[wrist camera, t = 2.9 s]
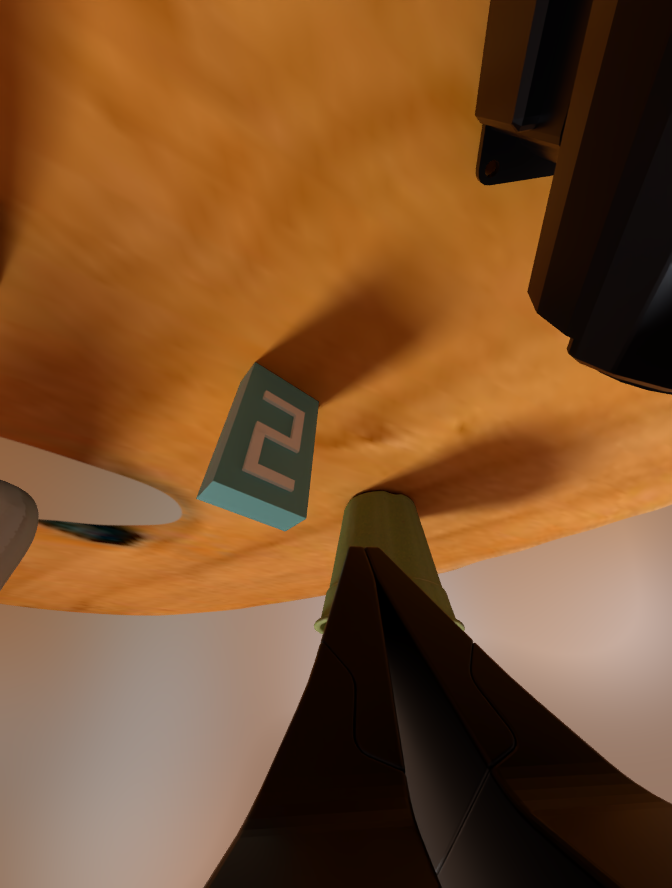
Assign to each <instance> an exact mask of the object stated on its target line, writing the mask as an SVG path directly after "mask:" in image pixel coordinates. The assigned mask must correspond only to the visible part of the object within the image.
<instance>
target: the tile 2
mask: <svg viewBox="0 0 672 888" xmlns="http://www.w3.org/2000/svg"><path fill="white" fill-rule="evenodd" d="M318 405H319V402H318V401H317V400H315V399H314V398H312V397H310V396H309V395H307V394H306V393H304V392H302V391H301V390H299V389H298V388H296V387H294V386H293V385H291V384H290V383H288V382H286V381H285V380H283V379H282V378H280V377H278V376H277V375H275V374H274V373H272V372H270V371H269V370H267V369H266V368H264V367H262V366H261V365H259V364H258V363H256V362H255V363H254V364H253V366H252V367H251V368H250V370H249V371H248V373H247V374H246V375H245V377H244V378H243V379H242V381H241V382H240V385H239V388H238V390H237V393H236V396H235V398H234V401H233V403H232V406H231V409H230V411H229V414H228V417H227V419H226V422H225V424H224V427H223V430H222V432H221V435H220V438H219V440H218V443H217V445H216V448H215V451H214V453H213V456H212V459H211V461H210V464H209V466H208V469H207V472H206V474H205V477H204V480H203V482H202V485H201V487H200V490H199V493H198V495H197V498H196V499H199V500H201V501H204V502H207V503H209V504H212V505H215V506H218V507H220V508H223V509H226V510H229V511H231V512H234V513H237V514H239V515H242V516H245V517H248V518H250V519H253V520H256V521H259V522H261V523H264V524H267V525H269V526H272V527H275V528H278V529H280V530H283V531H287V530H288V529H290V528H292V527H293V526H295V525H296V524H298V523H300V522H301V521H303V520H305V519H306V516H307V507H308V498H309V489H310V479H311V470H312V461H313V452H314V442H315V433H316V424H317V415H318Z"/></svg>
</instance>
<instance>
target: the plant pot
mask: <svg viewBox="0 0 672 888" xmlns="http://www.w3.org/2000/svg"><path fill="white" fill-rule="evenodd" d="M350 546H362V547H363V548H365V547H379V548H380V549H381V550H382V551H383V552H384V553H385V554H386V555H387V556H388V557H389V558H390V559H391V560H392V561H393V562H394V563H395V564H396V565H397V566H398V567H399V568H400V569H401V570H402V571H403V572H404V573H405V574H406V575H407V576H408V577H410V578H411V579H412V580H413V581H414V582H415V583H416V584H417V585H418V586H419V587H420V588H421V589H422V590H423V591H424V592H425V593H426V594H427V595H428V596H429V597H430V598H431V599H432V600H433V601H434V602H435V603H436V604H437V605H438V606H439V607H440V608H441V609H442V610H443V611H444V612H445V613H446V614H447V615H448V616H449V617H450V618H451V619H452V620H453V621H454V622H455V623H456V624H457V625H458V626H459V627H460V628H461V629H462V630H463V631H464V630H465V627H464V625H463V624H462V622H460V621H459V620H457V619H456V618H455V615H454V613H453V610H452V608H451V605H450V602H449V599H448V596H447V593H446V591H445V590H444V589H443V588H442V585H441V582H440V580H439V577H438V574H437V571H436V568H435V565H434V562H433V558H432V555H431V552H430V549H429V546H428V543H427V540H426V537H425V534H424V531H423V528H422V525H421V522H420V519H419V516H418V513H417V510H416V507H415V504H414V502H413V501H412V500H411V499H410V498H408V497H406V496H404V495H402V494H398V495H394V494H390V493H388V492H386V491H374V492H368V493H364V494H361V495H358V496H356V497H354V498H353V499H351V500H350V501H349V503H348V504H347V506H346V508H345V510H344V515H343V521H342V526H341V532H340V537H339V542H338V547H337V552H336V557H335V563H334V568H333V573H332V578H331V583H330V588H329V589H328V591H327V593H326V597H325V603H324V607H323V611H322V616H321V618H320V619H318V620H317V621H316V623H315V624H314V628H315V630H316V631H318V632H319V633H321V634H323V633H324V629H325V626H326V622H327V619H328V616H329V612H330V609H331V605H332V602H333V599H334V595H335V592H336V588H337V585H338V582H339V578H340V575H341V571H342V568H343V565H344V561H345V558H346V554H347V551H348V548H349V547H350Z"/></svg>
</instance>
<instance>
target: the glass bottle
mask: <svg viewBox="0 0 672 888" xmlns="http://www.w3.org/2000/svg"><path fill="white" fill-rule="evenodd" d="M37 526H38V509H37V505H36V503H35V501H34V500H33V499H32V497H31V496H30V495H29V494H28V493H26V492H25V491H23V490H22V489H20V488H19V487H17V486H14V485H12V484H10V483H8V482H5V481H2V480H0V590H1V589H2V587H3V586H4V584H5V583H6V582H7V580H8V579H9V577H10V576H11V574H12V573H13V571H14V570H15V569H16V567H17V566H18V564H19V563H20V561H21V560H22V558H23V557H24V555H25V554H26V552H27V550H28V549H29V547H30V545H31V543H32V541H33V539H34V536H35V533H36V530H37Z"/></svg>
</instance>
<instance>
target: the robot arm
mask: <svg viewBox="0 0 672 888" xmlns="http://www.w3.org/2000/svg"><path fill="white" fill-rule="evenodd" d="M475 116H476V117H477V119H478V120H479V122H480V123H482V124H483V125H482V131H481V138H480V145H479V151H478V158H477V165H476V177H477V179H478V181H480V182H481V183H482V184H484V185H495V184H501V183H508V182H514V181H520V180H527V179H533V178H539V177H546V176H552V175H554V176H553V181H552V185H551V189H550V194H549V198H548V203H547V207H546V212H545V216H544V220H543V225H542V229H541V234H540V238H539V243H538V247H537V251H536V256H535V260H534V265H533V269H532V274H531V278H530V282H529V287H528V291H527V292H528V294H529V297H530V299H531V301H532V303H533V306H534V308H535V310H536V312H537V313H538V314H539V315H540V316H541V317H543V318H544V319H545V320H547V321H548V322H549V323H550V324H552V325H553V326H554V327H556V328H557V329H558V330H559V331H561V332H562V333H563V334H565V335H566V336H568V337H570V341H569V344H568V346H567V351H568V354H569V355H571V356H572V357H573V358H574V359H575V360H576V361H578V362H579V363H581V364H583V365H586V366H588V367H590V368H593V369H595V370H597V371H599V372H600V373H603V374H605V375H607V376H609V377H611V378H613V379H616V380H618V381H620V382H623V383H626V384H629V385H632V386H636V387H639V388H642V389H646V390H649V391H655V392H660V393H666V394H671V395H672V0H491V1H490V7H489V15H488V22H487V30H486V37H485V44H484V52H483V59H482V67H481V74H480V81H479V89H478V96H477V104H476V111H475ZM492 160H495V161H496V168H495V170H494V172H493V173H492V174H490V175H488V176H487V175H486V174H485V169H486V166H487V164H488V163H489V162H490V161H492ZM204 888H672V804H671V803H669V802H667V801H665V800H663V799H661V798H660V797H657V796H656V795H654V794H652V793H651V792H649V791H648V790H646V789H644V788H643V787H641V786H640V785H638V784H637V783H635V782H634V781H633V780H631V779H630V778H628V777H627V776H626V775H624V774H623V773H622V772H620V771H619V770H618V769H617V768H615V767H614V766H613V765H612V764H610V763H609V762H608V761H607V760H606V759H604V757H602V756H601V755H600V754H599V753H597V751H595V750H594V749H593V748H592V747H591V746H590V745H588V744H587V743H586V742H585V741H583V739H581V738H580V737H579V736H578V735H577V734H576V733H574V732H573V731H572V730H571V729H570V728H569V727H568V726H566V725H565V724H564V723H563V722H562V721H560V720H559V719H558V718H557V717H556V716H555V715H553V714H552V713H551V712H550V711H549V710H547V708H545V707H544V706H543V705H542V704H541V703H540V702H538V701H537V700H536V699H535V698H534V697H533V696H532V695H531V694H529V693H528V692H527V691H526V690H525V689H524V688H523V687H522V686H520V685H519V684H518V683H517V682H516V681H515V680H514V679H513V678H511V677H510V676H509V675H508V674H507V673H506V672H505V671H504V670H503V669H502V668H501V667H500V666H499V665H498V664H497V663H496V662H495V661H494V660H493V659H492V658H490V657H489V656H488V655H487V654H486V653H485V652H484V651H483V650H482V649H481V648H480V647H479V646H478V645H477V644H476V643H473V640H472V639H471V638H470V637H469V636H468V635H467V634H466V633H465V632H464V631H463V630H462V629H461V628H460V627H459V626H458V625H457V624H456V623H455V622H454V621H453V620H452V619H451V618H450V617H449V616H448V615H447V614H446V613H445V612H444V611H443V610H442V609H441V608H440V607H439V606H438V605H437V604H436V603H435V602H434V601H433V600H432V599H431V598H430V597H429V596H428V595H427V594H426V593H425V592H424V591H423V590H422V589H421V588H420V587H419V586H418V585H417V584H416V583H415V582H414V581H413V580H412V579H411V578H410V577H408V576H407V575H406V574H405V573H404V572H403V571H402V570H401V569H400V568H399V567H398V566H397V565H396V564H395V563H394V562H393V561H392V560H391V559H390V558H389V557H388V556H387V555H386V554H385V553H384V552H383V551H382V550H381V549H380V548H379V547H365V548H363V547H362V546H350V547H349V548H348V551H347V554H346V558H345V561H344V565H343V568H342V571H341V575H340V578H339V582H338V585H337V588H336V592H335V595H334V599H333V602H332V605H331V609H330V612H329V616H328V619H327V622H326V626H325V629H324V633H323V636H322V639H321V644H320V646H319V649H318V652H317V656H316V659H315V663H314V665H313V668H312V671H311V674H310V677H309V680H308V683H307V686H306V688H305V690H304V693H303V695H302V697H301V700H300V702H299V705H298V707H297V710H296V712H295V714H294V716H293V719H292V721H291V723H290V725H289V727H288V729H287V732H286V734H285V736H284V738H283V740H282V743H281V745H280V747H279V749H278V752H277V754H276V756H275V758H274V761H273V763H272V765H271V767H270V769H269V772H268V774H267V776H266V778H265V780H264V783H263V785H262V787H261V789H260V791H259V794H258V795H257V797H256V799H255V801H254V803H253V806H252V807H251V810H250V812H249V813H248V815H247V817H246V819H245V821H244V823H243V825H242V826H241V828H240V830H239V832H238V834H237V836H236V837H235V839H234V840H233V842H232V843H231V845H230V847H229V848H228V850H227V851H226V853H225V854H224V856H223V858H222V859H221V861H220V863H219V864H218V865H217V867H216V869H215V870H214V872H213V873H212V875H211V877H210V878H209V880H208V881H207V883H206V884H205V886H204Z"/></svg>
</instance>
